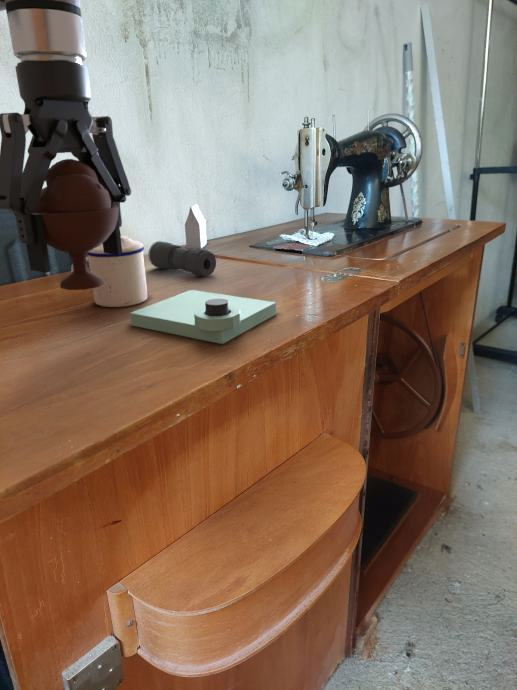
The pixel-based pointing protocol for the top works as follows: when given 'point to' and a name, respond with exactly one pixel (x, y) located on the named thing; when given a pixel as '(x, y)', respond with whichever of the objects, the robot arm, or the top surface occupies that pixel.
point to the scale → (203, 316)
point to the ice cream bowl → (76, 217)
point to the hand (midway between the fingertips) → (79, 261)
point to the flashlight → (182, 258)
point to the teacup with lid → (119, 274)
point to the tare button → (217, 307)
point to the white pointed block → (195, 229)
